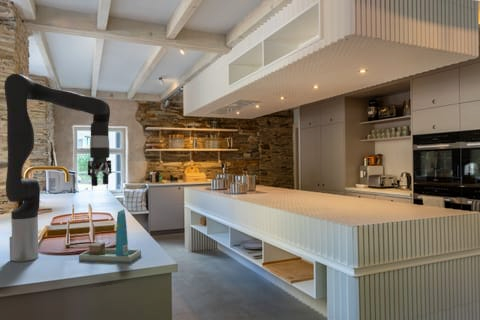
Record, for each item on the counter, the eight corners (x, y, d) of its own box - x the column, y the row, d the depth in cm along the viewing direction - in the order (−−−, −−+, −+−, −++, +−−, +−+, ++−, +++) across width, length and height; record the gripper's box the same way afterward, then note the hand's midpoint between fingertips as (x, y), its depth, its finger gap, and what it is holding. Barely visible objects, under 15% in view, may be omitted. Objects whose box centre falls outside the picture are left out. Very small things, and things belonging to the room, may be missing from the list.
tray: (78, 261, 138) (78, 254, 138) (92, 253, 147) (92, 248, 147) (130, 263, 134) (130, 257, 134) (141, 255, 144) (141, 249, 144)
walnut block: (99, 257, 139) (99, 245, 139) (89, 257, 140) (89, 245, 140) (105, 254, 144) (105, 242, 143) (95, 254, 144) (95, 242, 144)
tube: (118, 254, 144) (117, 209, 143) (130, 254, 144) (129, 208, 144) (113, 259, 136) (112, 212, 136) (125, 259, 137) (125, 211, 136)
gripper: (98, 146, 136) (99, 186, 137) (116, 147, 150) (117, 183, 151) (81, 146, 137) (82, 186, 138) (100, 147, 151) (101, 183, 152)
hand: (100, 185), depth 144 cm, fingers open, 8 cm apart
